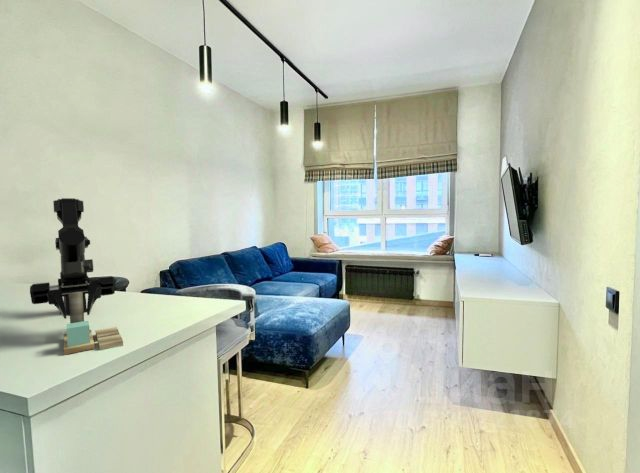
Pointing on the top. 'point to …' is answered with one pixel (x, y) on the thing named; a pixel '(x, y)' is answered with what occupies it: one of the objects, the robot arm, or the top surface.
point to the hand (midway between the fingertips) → (77, 315)
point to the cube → (78, 333)
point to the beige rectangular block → (109, 338)
